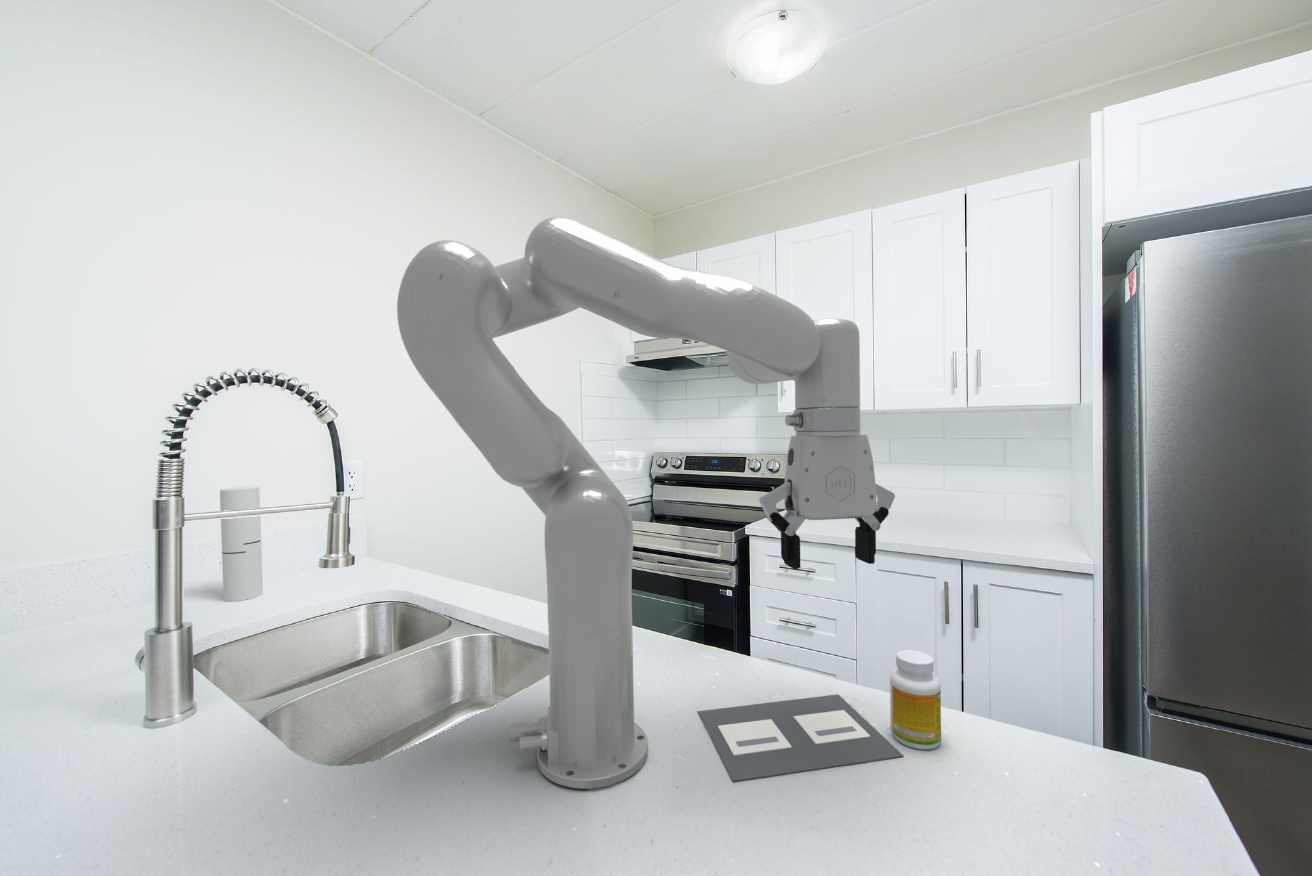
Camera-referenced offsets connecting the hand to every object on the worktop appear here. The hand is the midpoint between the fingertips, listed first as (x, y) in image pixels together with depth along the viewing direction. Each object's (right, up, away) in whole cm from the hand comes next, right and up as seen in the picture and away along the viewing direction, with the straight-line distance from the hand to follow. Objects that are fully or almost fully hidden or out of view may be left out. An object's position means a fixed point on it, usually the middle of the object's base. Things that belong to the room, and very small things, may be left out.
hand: (828, 563), depth 65 cm
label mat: (-5, -20, -1) cm, 21 cm away
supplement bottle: (+10, -20, -2) cm, 23 cm away
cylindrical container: (-116, -21, +58) cm, 132 cm away
